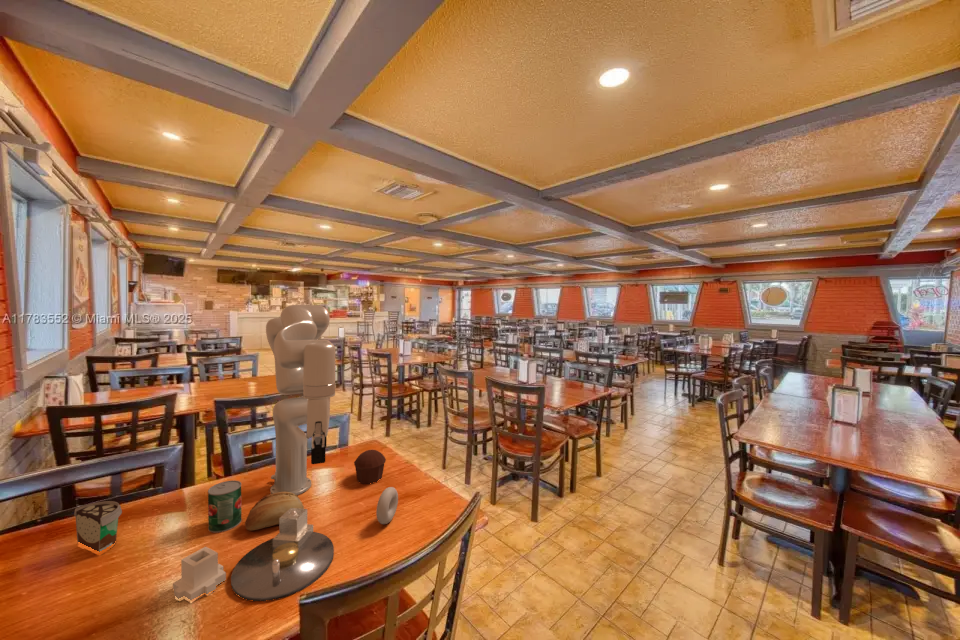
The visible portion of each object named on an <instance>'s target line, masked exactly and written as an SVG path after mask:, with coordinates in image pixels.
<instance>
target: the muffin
mask: <svg viewBox="0 0 960 640" xmlns="http://www.w3.org/2000/svg"><path fill="white" fill-rule="evenodd" d="M386 461H387V459H386V457H385V456H384V454H383V453H382V452H380V451H379V450H376V449H368V450H365V451H363V452H362V453H360V454H359V455H358V456H357V458H356V459H354V462H353V464H354V467H355V473H356V480H357V483H359V482H360V484H361V483H362V484H361V485H371V484H370V483H372V484H374V483H373V482H376V483H378V482H379V481H380V480H379V479H381V478H382V479H383V474H384V468H385V463H386ZM382 479H381V480H382ZM378 480H379V481H378ZM377 481H378V482H377Z"/></svg>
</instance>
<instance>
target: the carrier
mask: <svg viewBox="0 0 960 640" xmlns="http://www.w3.org/2000/svg"><path fill="white" fill-rule="evenodd" d="M278 525H279V526H278V528H279V529H278V530H279V531H278V533H277V535H275V536H274V537H273V538H270V539H267V540H266V541H263V542H262V543H260V544H258V545H256V546H255V547H254V548H251V550H250V551H248V552H247V553H246V554H244V555H243V556H242V557H241V558H240V559H239V561H238V562H237V563H236V564H235V566H234V568H233V569H232V572H231V576H230V584H231V586H232V587H231V590H232V589H233V590H232V592H233V591H234V592H235V593H236V594H237V595H239V596H240V597H242V598H244V599H247V600H246V601H248V600H253V601H252V602H255V601H263V602H267V601H266V600H271V601H274V600H273V599H276V600H279V598H280V599H283V598H286V597H289V596H292V595H294V594H297V593H299V592H300V591H302V590H304V589H306V588H308V587H310V586H311V585H313V584H314V583H315V582H317V581H318V580H319V579H320V578H321V577H322V576H323V575H324V574H325V573H326V572H327V570H329V568H330V566H331V564H332V562H333V559H334V552H335V549H334V548H335V547H334V543H333V541H332V539H330V538H329V536H327V535H325V534H323V533H320V532H318V531H314V524H309V523H308V508H304V509H299V508H290V509H289V510H288V511H287V512H286V513H285V514H284V515H282V516H281V517H280V518H279V524H278ZM234 592H233V593H234ZM296 592H297V593H296ZM235 593H234V594H235ZM236 594H235V595H236ZM237 595H236V596H237ZM240 597H239V598H240ZM242 598H241V599H242ZM244 599H243V600H244Z"/></svg>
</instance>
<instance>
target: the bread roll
mask: <svg viewBox="0 0 960 640" xmlns="http://www.w3.org/2000/svg"><path fill="white" fill-rule="evenodd" d="M290 508H299V509H305V505H303V502H302V500H301V499H300V498H299V497H298V495H295V494H293V493H291V492H277V493H273V494H271V493H270V494H267V495H265V496H263V497H261V498H260V499H259V500H258V501H257V502H256V503H255V504H254V505H253V507H252V508H251V509H250V510H249V512H248V515H247V516H246V520H245V521H244V527H245V529H246V530H247V531H251V532H253V531H258V530H261V529H264V528H269V527H273V526H276V525H279V518H280V517H281V516H282V515H284V514H285V513H286V512H287V511H288V510H289V509H290Z"/></svg>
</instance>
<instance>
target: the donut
mask: <svg viewBox="0 0 960 640" xmlns="http://www.w3.org/2000/svg"><path fill="white" fill-rule="evenodd" d="M398 505H399V494H398V490H397V489H396V488H395V487H394V486H389V487H386V488H385V489H383V491H382V493H381V494H380V496H379V498H378V501H377V505H376V511H375V512H376V520H377V522H378V523H379V524H380V525H387V524H388V523H390V522H391V521H392V519H393V518H394V517H395V513H396V512H397V508H398Z"/></svg>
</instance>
